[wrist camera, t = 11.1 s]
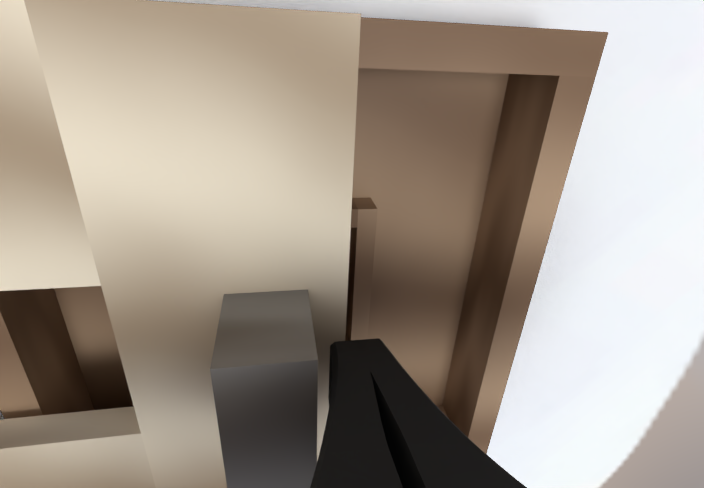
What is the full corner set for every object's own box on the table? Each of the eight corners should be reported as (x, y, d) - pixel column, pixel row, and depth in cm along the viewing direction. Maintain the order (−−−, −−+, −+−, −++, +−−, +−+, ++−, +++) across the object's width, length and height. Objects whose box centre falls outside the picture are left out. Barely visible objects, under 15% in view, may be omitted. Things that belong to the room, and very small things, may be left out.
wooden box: (454, 407, 20) (482, 465, 17) (89, 449, 17) (55, 526, 14) (537, 32, 12) (608, 32, 10) (-74, -3, 10) (-204, -17, 7)
